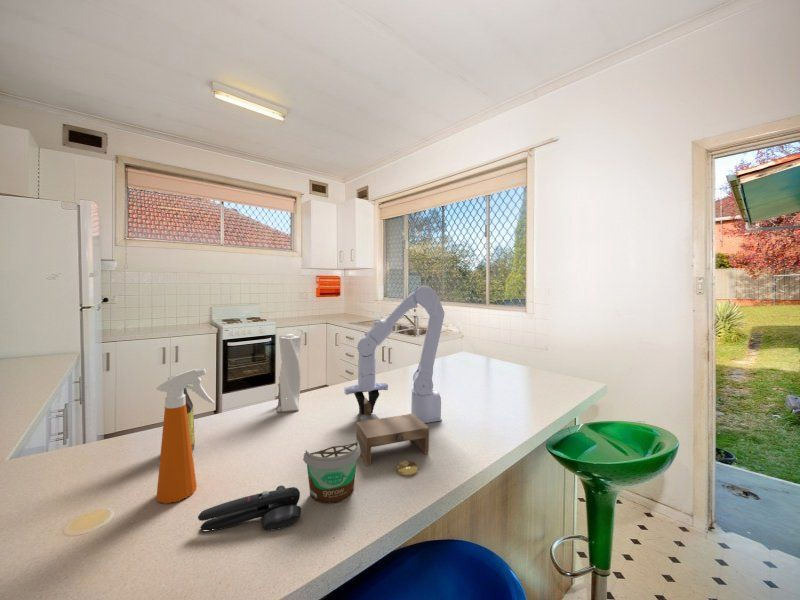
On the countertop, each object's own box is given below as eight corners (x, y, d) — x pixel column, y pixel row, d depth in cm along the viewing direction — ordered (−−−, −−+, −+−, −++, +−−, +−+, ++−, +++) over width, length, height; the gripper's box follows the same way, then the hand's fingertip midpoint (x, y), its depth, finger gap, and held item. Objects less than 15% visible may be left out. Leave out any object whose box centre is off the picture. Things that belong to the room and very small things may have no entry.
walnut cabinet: (412, 437, 98) (413, 413, 97) (429, 454, 88) (430, 428, 87) (356, 447, 91) (356, 422, 91) (367, 467, 81) (368, 439, 81)
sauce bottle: (200, 448, 89) (199, 375, 88) (178, 459, 83) (176, 381, 82) (182, 444, 91) (181, 372, 90) (159, 455, 86) (157, 378, 84)
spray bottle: (211, 497, 69) (209, 372, 68) (150, 507, 66) (147, 375, 65) (219, 478, 76) (218, 363, 74) (164, 486, 73) (161, 366, 71)
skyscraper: (302, 403, 123) (302, 328, 122) (303, 411, 115) (303, 331, 114) (277, 405, 120) (277, 328, 119) (277, 414, 113) (276, 332, 111)
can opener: (302, 504, 68) (302, 477, 68) (300, 528, 61) (300, 499, 61) (205, 517, 64) (204, 489, 63) (192, 545, 57) (191, 513, 57)
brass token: (412, 464, 84) (413, 459, 84) (420, 475, 79) (420, 470, 79) (394, 467, 82) (394, 462, 82) (400, 478, 77) (400, 473, 77)
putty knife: (369, 411, 117) (369, 397, 116) (392, 439, 96) (393, 422, 96) (355, 413, 115) (355, 398, 115) (376, 442, 94) (376, 425, 94)
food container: (309, 515, 64) (309, 464, 64) (302, 496, 70) (303, 450, 69) (368, 497, 70) (369, 450, 70) (358, 481, 76) (358, 438, 75)
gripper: (383, 368, 117) (382, 406, 118) (342, 371, 112) (342, 411, 112) (390, 373, 111) (389, 413, 112) (347, 377, 105) (347, 419, 106)
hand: (366, 413), depth 112 cm, fingers closed on putty knife, 2 cm apart
